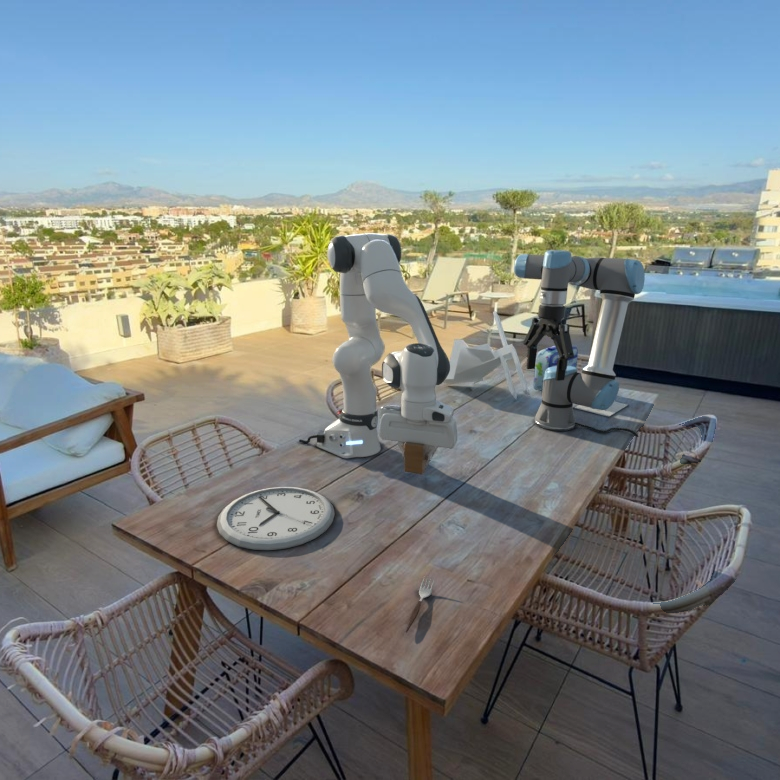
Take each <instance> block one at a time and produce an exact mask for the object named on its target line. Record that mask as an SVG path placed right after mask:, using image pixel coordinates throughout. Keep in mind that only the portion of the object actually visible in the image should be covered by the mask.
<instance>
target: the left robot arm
mask: <svg viewBox="0 0 780 780" xmlns="http://www.w3.org/2000/svg"><path fill="white" fill-rule="evenodd" d="M326 251H327V252H326V254H327V255H326V256H327V261H328V265H329V267H330V268H331V269H332V270H333V271H334V272H336V273H339V304H340V305H339V306H340V318H341V321H342V322H343V323H344V325H345V327H346V330H347V335H348V340H346V341H343V342H341V344H340V345H339V346H338V347H337V348H336V349H335V350H334V352H333V354H332V364H333V367H334V369H335V370H336V372H337V373H338V374H339V378H340V381H341V385H342V396H343V398H342V402H343V404H342V405H343V407H342V408H341V409H340V410H338V411H337V412H336V413H337V414H336V415H337V416H338V415H339V417H338V418H337V419H336V420H334V421H333V422H331V423H330V424H329V425H328V426H326V427H325V429H324V430H318V431H317V434H314V435H310V436H308V437H307V439H306V440H304V439H299V441H298V442H299V443H301V444H302V443H303V444H309V443H310V442H311V439H316V447H317V448H319V449H322V450H324V451H326V452H329V453H331V454H333V455H335V456H338V457H340V458H343V459H352V458H364V457H365V458H366V457H371V456H374V455H376V454H378V453H380V452H381V450H382V446H381V444H380V440H379V437H380V439H381V440H383V441H391V442H397V445H398V448H399V449H400V452H401V457H402V458H405V443H406V442H412V443H420V444H425V445H428V446H430V448H429V449H431V451H430V452H426V454H425V460H426V461H430V462H431V461H432V459H433V457H432V453H433V452H434V450H435V449H436V447H438V448H443V449H449V450H451V449H453V448H454V447H455V446H456V445H457V442H458V427H457V421H456V419H455V418H454V413H455V409H454V407H453V406H451V405H448V404H446V403H444V402H441V401H439V400H437V393H436V386H440V385H441V384H443V383H444V382H443V381H444V380H445V379H446V378H447V376H448V374H449V372H450V362H449V361H450V358H449V356H448V355H447V354H446V353H447V352H445V350H444V349H443V346H442V345H441V343H440V341H439V339H438V337H437V334H436V331H435V330H434V327H433V325H432V322H431V320H430V317H429V315H428V313H427V310H426V308H425V306H424V304H423V302H422V300H421V298H420V297H419V296H418V295H416V294H415V293H413V292H412V290H411V289H410V287H409V286H408V285H407V284H406V282H405V280H404V277H403V274H402V273H403V272H402V269H401V266H400V262H401V259H402V245H401V242H400V240H399V238H398V237H397V236H396V235H393V234H389V233H371V232H369V233H368V232H367V233H359V234H358V233H357V234H349V235H343V234H342V235H338V236H335V237H333V238H331V240H330V241H329V242H328V246H327V250H326ZM377 310H378V311H380V312H382V313H384V314H389V315H392V316H395V317H398V318H400V319H402V320H403V321H405V322H407V323H408V324H409V325H410V327H411V329H412V331H413V334H414V337H415V338H416V341H417V342H416V343H410V344H407V345H405V347H404V348H403V349H402V350H399V351H393V352H391V353H388V354H387V355H386V356H385V358H383V361H382V363H381V376H382V380H383V381H384V383H385V384H386V385H388V386H389V387H391V388H393V389H400V390H401V395H400V396H401V397H400V405H391V404H385V405H383V406H381V407H380V408H379V411H378V408H377V395H378V393H377V390H378V389H377V386H376V385H375V383H374V381H373V376H372V367H374V366H375V365H376V364H378V363H379V362H380V361H381V359H382V357H383V355H384V354H385V351H386V344H385V342H384V340H383V338H382V337H381V333H380V330H379V325H378V321H377V312H376V311H377ZM378 413H379V414H378ZM379 419H380V423H378V422H379ZM378 424H379V430H378Z"/></svg>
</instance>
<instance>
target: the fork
mask: <svg viewBox="0 0 780 780" xmlns="http://www.w3.org/2000/svg"><path fill="white" fill-rule="evenodd" d="M435 577H436V576H434V577H433V580H432V577H429V576H427V577H426V574H424V575H423V579H422V581H421V585H420V588H419V589H418V594H419V597H420V598H419V600H418V602H417V604H416V605H415V606H414V608H413V609H412V611H411V615H410V618H409V620H408V621H409V622H408V623H407V627H406V630H405V633H408V632H409V630H410V629H411V627H412V625H413V624H414V621H415V620H416V618H417V617H418V615H419V613H420V608H421V605H422V603H423V602H422V601H423V599H425V598H428V597H430V596H431V595H432V592H433V588H434V583H435ZM425 578H426V581H425ZM429 578H430V579H429ZM428 579H429V582H428ZM431 581H432V583H431ZM424 582H425V583H424Z"/></svg>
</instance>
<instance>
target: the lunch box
mask: <svg viewBox="0 0 780 780" xmlns="http://www.w3.org/2000/svg"><path fill="white" fill-rule="evenodd" d="M572 348H573V353H574V358H570V359H568V363H567V366H573V367H576V368H577V366H578V356H579V354H578V353H579V352H578V347H577V346H572ZM563 355H564V354H563ZM558 358H560V357H559V354H558V351H557V349H556V346H555V345H553V346H549V347H546V348H544V349H541V350H539V351H538V353H537V354H536V363H535V369H533V370H534V371H533V372H534V373H533V389H534V390H535V391H539V392H542V391H543V381H544V380H543V379H544V375H545V371H546V369H548V368H550V367H554V366H557V361H558Z"/></svg>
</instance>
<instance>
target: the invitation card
mask: <svg viewBox="0 0 780 780" xmlns="http://www.w3.org/2000/svg"><path fill="white" fill-rule="evenodd" d="M628 406H629V404H627V403H623V402H618V401H614V402H613V404H612V405H611V406H610V407H609V408H608V409H606V410H599V409H592V408H590V407H586V406H582V405H578V404H577V405H575V406H574V407H573V409H575V410H581V411H584V412H587V413H593V414H596V415H600V416H604V417H608V418H609V417H611V416H613V415H614V414H616V413H617V412H619V411H621V410H623V409H624V408H626V407H628Z"/></svg>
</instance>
